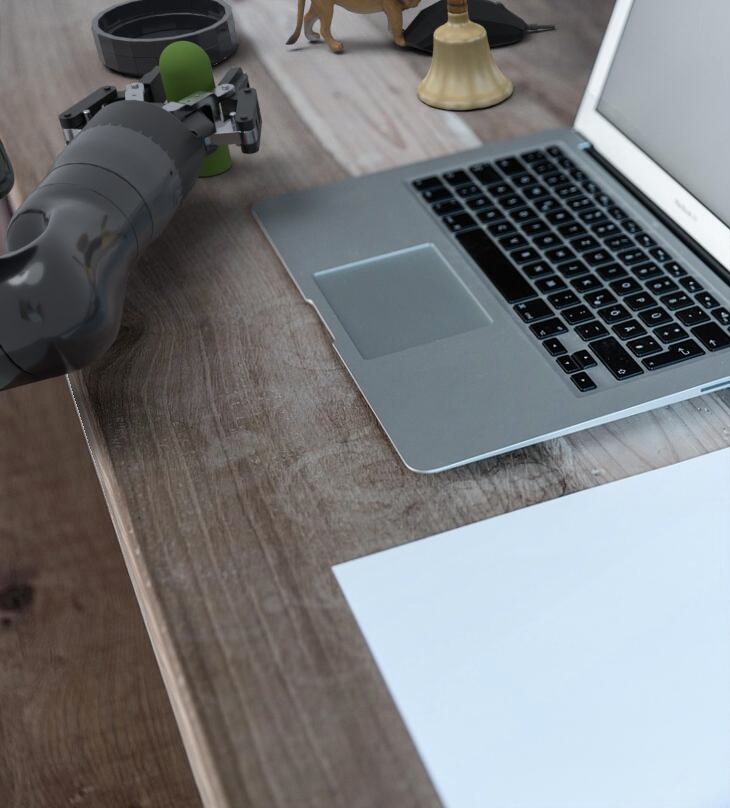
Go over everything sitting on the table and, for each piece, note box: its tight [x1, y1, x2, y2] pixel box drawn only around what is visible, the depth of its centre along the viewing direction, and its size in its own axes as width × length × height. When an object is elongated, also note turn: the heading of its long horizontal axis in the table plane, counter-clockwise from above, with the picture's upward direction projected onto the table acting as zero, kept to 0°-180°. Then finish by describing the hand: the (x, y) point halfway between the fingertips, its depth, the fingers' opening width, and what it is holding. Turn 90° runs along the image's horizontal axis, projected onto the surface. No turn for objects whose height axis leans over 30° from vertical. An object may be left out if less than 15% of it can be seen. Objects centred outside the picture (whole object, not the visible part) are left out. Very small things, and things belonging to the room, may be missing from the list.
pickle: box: [159, 41, 233, 178], centre depth 90 cm, size 4×4×10 cm
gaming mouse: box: [403, 0, 556, 54], centre depth 114 cm, size 6×15×4 cm, turn 111°
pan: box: [90, 0, 239, 78], centre depth 111 cm, size 12×12×4 cm
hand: (201, 78), depth 92 cm, fingers open, 5 cm apart
